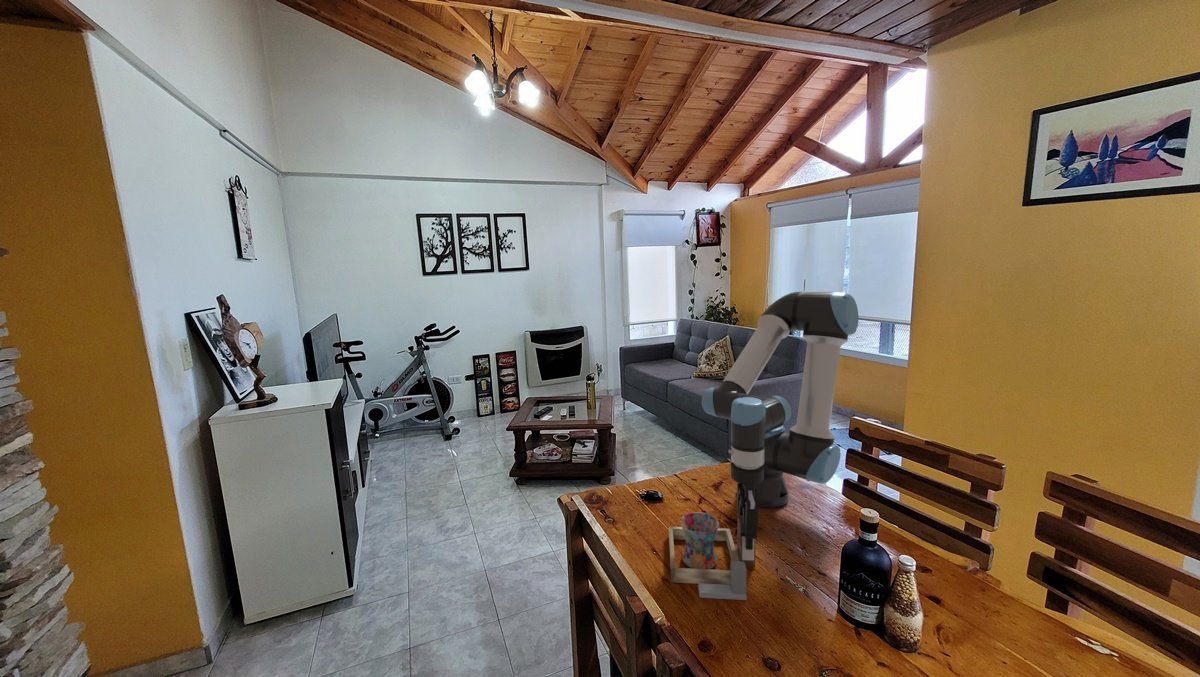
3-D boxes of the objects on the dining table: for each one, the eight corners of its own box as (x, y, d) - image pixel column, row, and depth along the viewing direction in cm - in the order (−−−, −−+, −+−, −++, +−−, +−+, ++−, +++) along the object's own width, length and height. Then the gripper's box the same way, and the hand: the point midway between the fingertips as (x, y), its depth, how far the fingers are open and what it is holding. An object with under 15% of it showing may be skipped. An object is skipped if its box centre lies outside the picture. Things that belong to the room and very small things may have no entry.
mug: (705, 579, 105) (705, 537, 103) (672, 562, 111) (672, 523, 109) (731, 555, 113) (731, 516, 111) (699, 541, 119) (699, 503, 118)
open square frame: (745, 539, 119) (746, 500, 118) (761, 586, 102) (762, 541, 100) (668, 536, 122) (668, 498, 120) (671, 582, 104) (670, 538, 102)
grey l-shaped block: (743, 590, 101) (744, 561, 100) (746, 600, 98) (746, 569, 97) (698, 588, 102) (698, 559, 101) (699, 597, 99) (699, 567, 98)
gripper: (725, 448, 116) (724, 532, 119) (737, 479, 99) (736, 575, 102) (755, 449, 115) (754, 533, 118) (772, 480, 98) (770, 577, 102)
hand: (746, 552), depth 110 cm, fingers closed on open square frame, 4 cm apart
